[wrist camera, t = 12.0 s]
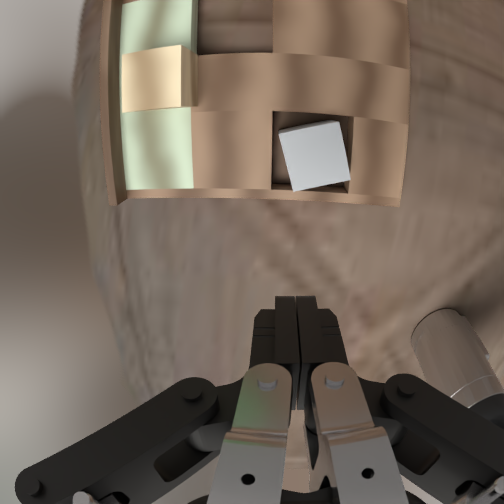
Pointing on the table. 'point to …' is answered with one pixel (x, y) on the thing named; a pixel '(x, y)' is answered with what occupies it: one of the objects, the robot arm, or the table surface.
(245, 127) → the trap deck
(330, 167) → the trapped grey cube
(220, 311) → the table surface
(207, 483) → the cylinder vase
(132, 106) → the maple cube
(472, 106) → the table surface
